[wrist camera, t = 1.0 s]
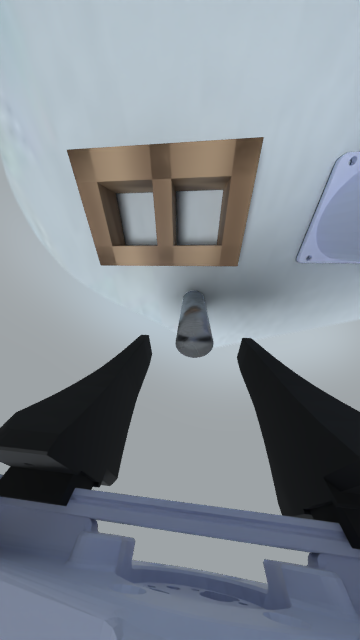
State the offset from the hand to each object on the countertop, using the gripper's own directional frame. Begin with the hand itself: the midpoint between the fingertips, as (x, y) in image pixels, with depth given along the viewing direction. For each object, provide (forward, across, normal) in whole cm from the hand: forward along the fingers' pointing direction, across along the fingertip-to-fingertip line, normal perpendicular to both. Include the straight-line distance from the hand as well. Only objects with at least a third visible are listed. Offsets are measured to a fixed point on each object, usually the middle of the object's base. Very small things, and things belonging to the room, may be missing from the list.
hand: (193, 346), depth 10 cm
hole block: (+9, +3, -9) cm, 13 cm away
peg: (+9, 0, 0) cm, 9 cm away
